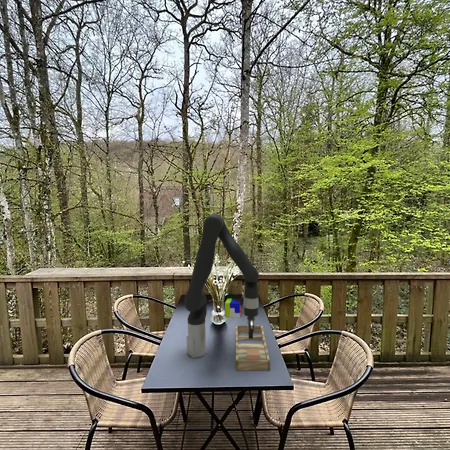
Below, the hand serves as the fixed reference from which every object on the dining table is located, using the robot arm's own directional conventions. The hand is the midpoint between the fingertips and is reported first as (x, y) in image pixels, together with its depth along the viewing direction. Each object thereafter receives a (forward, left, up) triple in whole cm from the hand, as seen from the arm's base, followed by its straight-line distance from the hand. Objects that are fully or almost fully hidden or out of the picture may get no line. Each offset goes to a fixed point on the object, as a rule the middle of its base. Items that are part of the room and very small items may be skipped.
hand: (250, 338), depth 151 cm
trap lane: (+5, +6, -10) cm, 12 cm away
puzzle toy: (+28, +49, -10) cm, 57 cm away
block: (-5, -7, -8) cm, 12 cm away
